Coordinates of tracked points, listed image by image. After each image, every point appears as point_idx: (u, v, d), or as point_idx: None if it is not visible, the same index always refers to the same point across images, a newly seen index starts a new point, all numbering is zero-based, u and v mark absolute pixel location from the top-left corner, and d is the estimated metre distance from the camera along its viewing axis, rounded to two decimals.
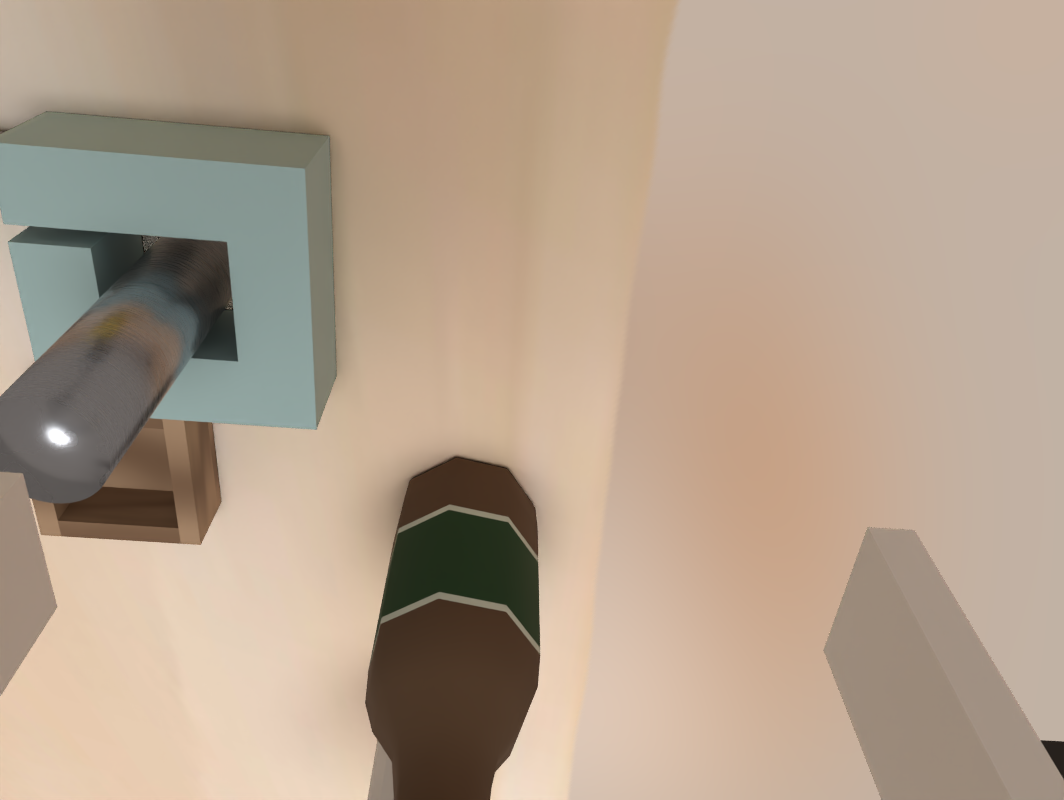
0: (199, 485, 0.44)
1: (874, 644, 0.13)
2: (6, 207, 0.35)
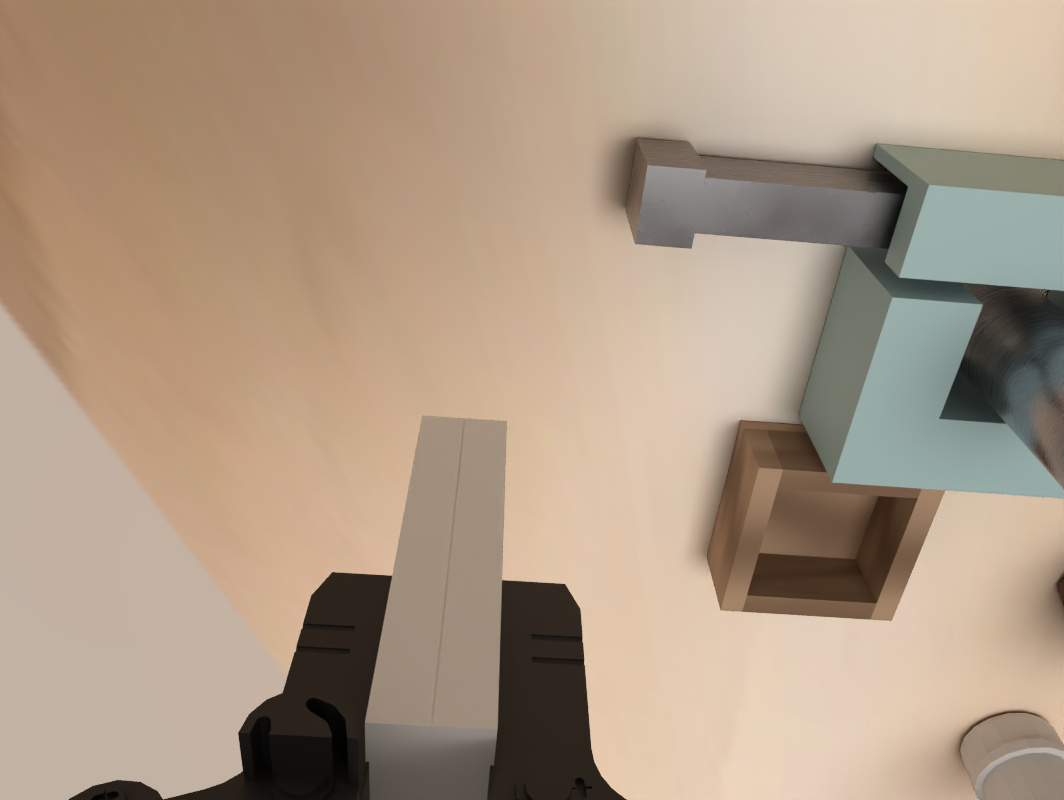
0: None
1: None
2: (912, 258, 0.30)
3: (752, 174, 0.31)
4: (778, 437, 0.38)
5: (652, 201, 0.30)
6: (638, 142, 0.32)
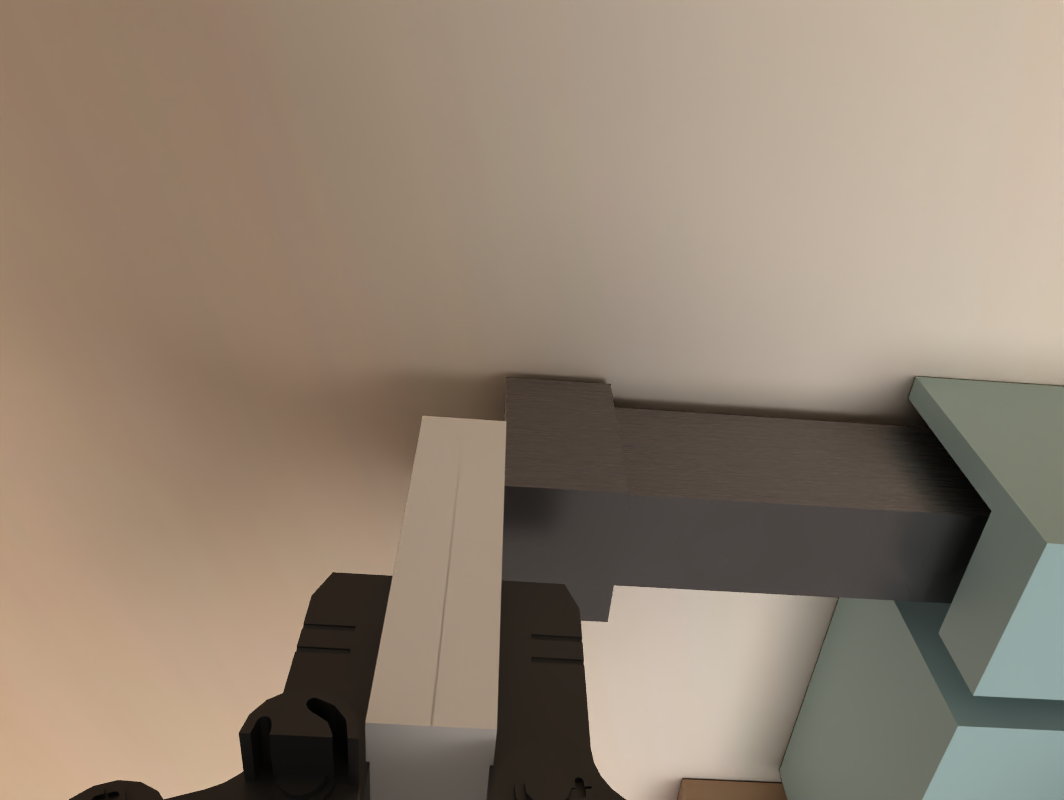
0: None
1: None
2: (1002, 666, 0.14)
3: (729, 470, 0.15)
4: None
5: (520, 547, 0.14)
6: (507, 392, 0.16)
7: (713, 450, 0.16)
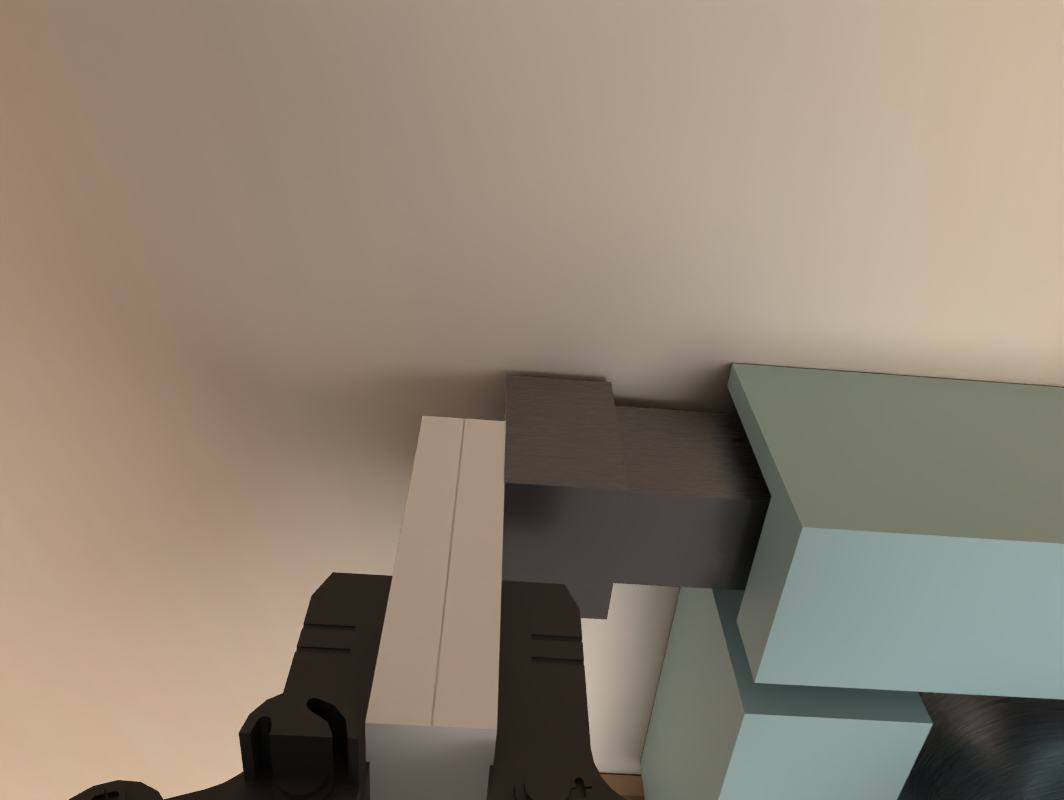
0: None
1: None
2: (778, 652, 0.14)
3: (728, 469, 0.15)
4: None
5: (520, 544, 0.15)
6: (507, 390, 0.16)
7: (713, 448, 0.16)
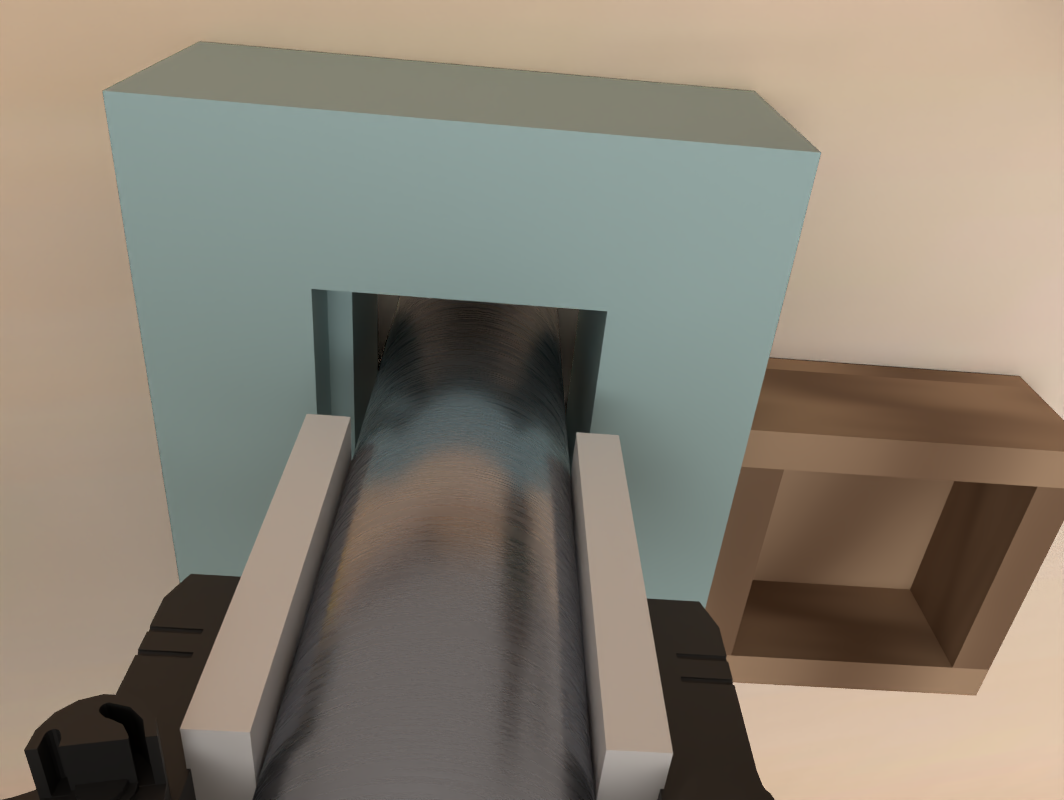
0: (947, 423, 0.21)
1: None
2: None
3: None
4: None
5: None
6: None
7: None
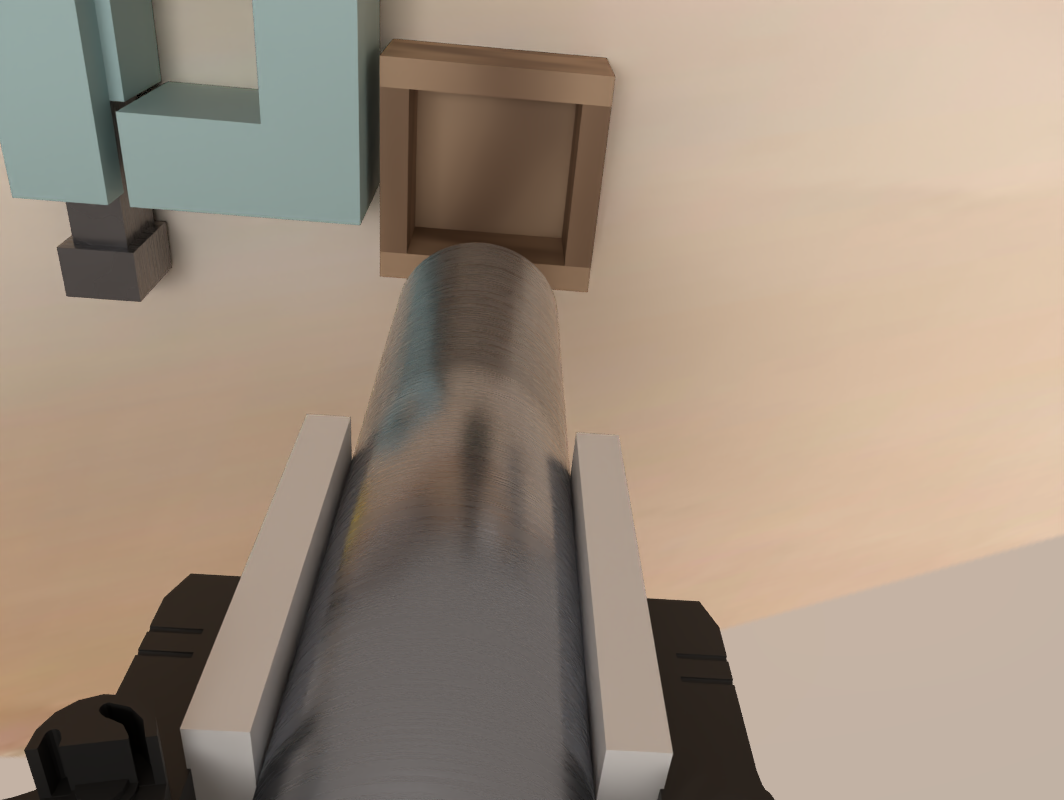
0: (524, 63, 0.31)
1: None
2: (86, 196, 0.31)
3: None
4: None
5: (97, 290, 0.34)
6: None
7: None
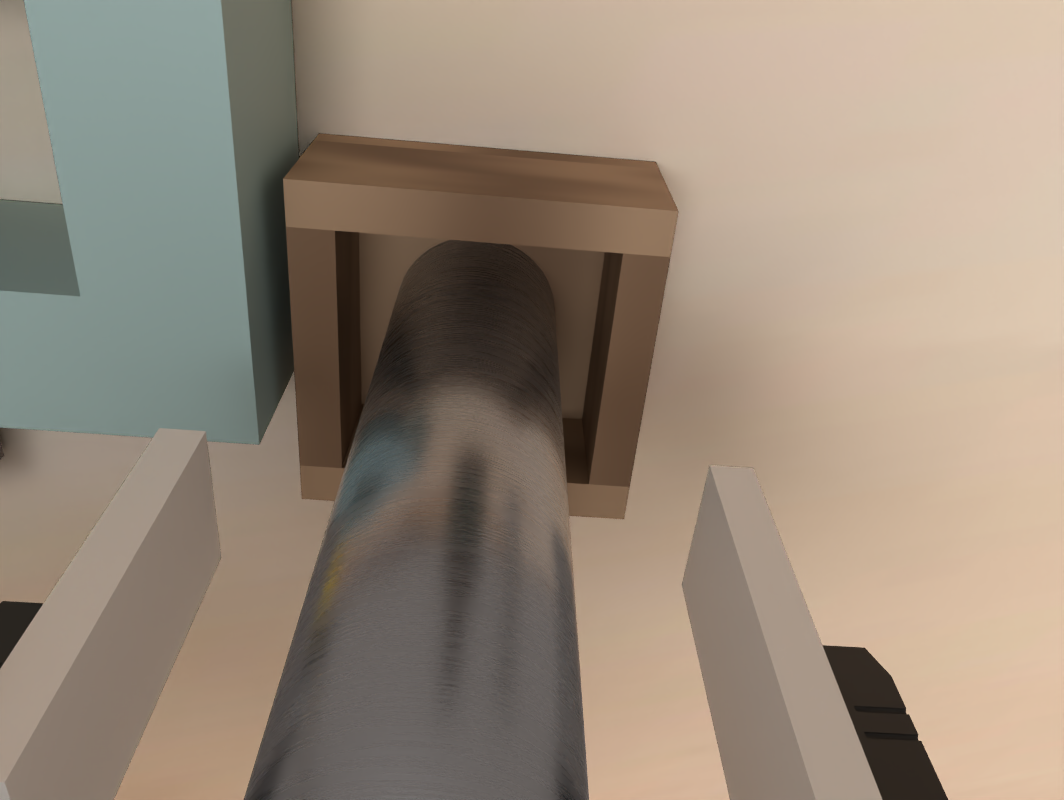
0: (527, 185, 0.19)
1: (710, 570, 0.14)
2: None
3: None
4: None
5: None
6: None
7: None
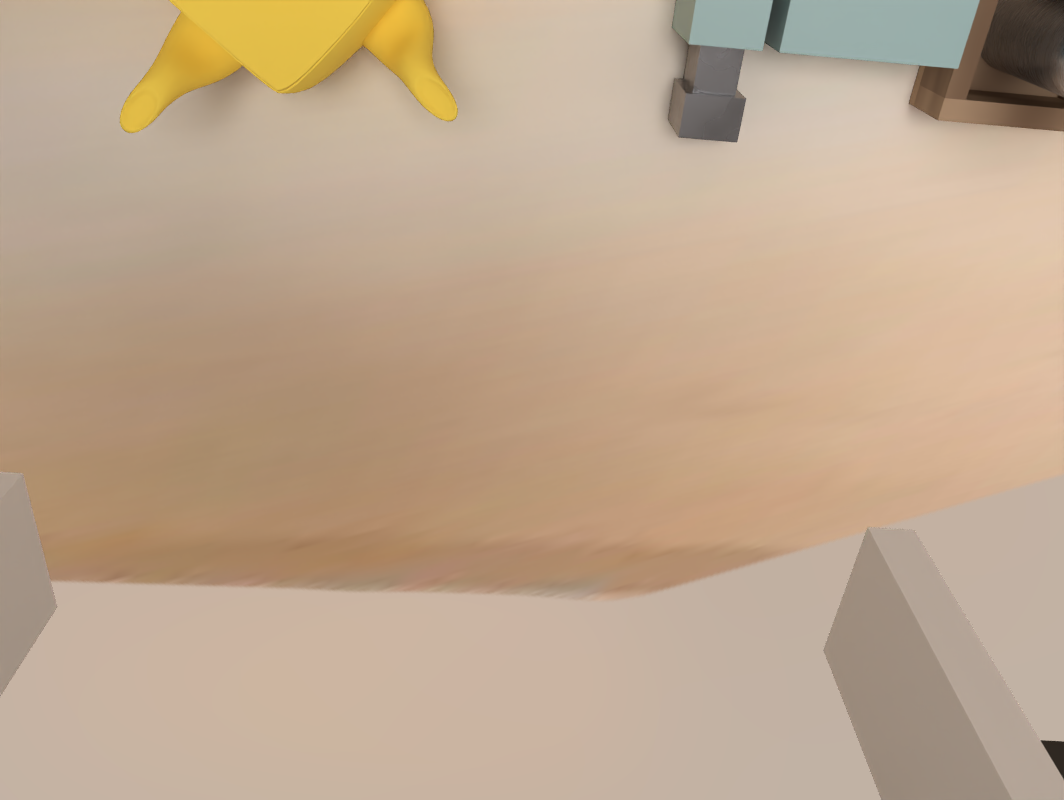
0: None
1: (874, 644, 0.13)
2: (747, 43, 0.38)
3: None
4: (926, 78, 0.42)
5: (705, 131, 0.41)
6: (670, 121, 0.44)
7: (694, 45, 0.41)
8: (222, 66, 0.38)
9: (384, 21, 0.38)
